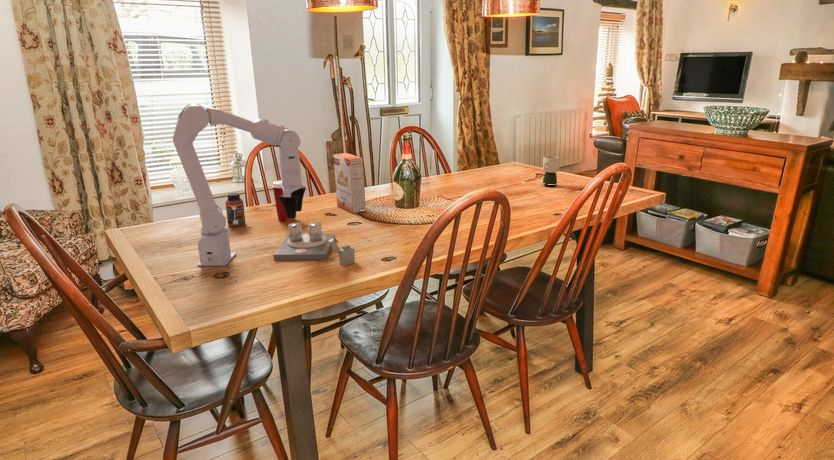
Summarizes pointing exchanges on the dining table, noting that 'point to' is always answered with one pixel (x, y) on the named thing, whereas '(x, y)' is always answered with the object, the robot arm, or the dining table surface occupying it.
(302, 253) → the kitchen scale
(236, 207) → the supplement bottle
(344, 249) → the lighter
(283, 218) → the paper cup
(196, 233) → the dining table surface
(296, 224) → the spacer
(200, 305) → the dining table surface
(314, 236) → the cylinder
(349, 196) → the cracker box
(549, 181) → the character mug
